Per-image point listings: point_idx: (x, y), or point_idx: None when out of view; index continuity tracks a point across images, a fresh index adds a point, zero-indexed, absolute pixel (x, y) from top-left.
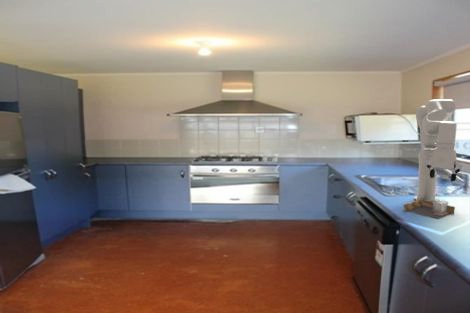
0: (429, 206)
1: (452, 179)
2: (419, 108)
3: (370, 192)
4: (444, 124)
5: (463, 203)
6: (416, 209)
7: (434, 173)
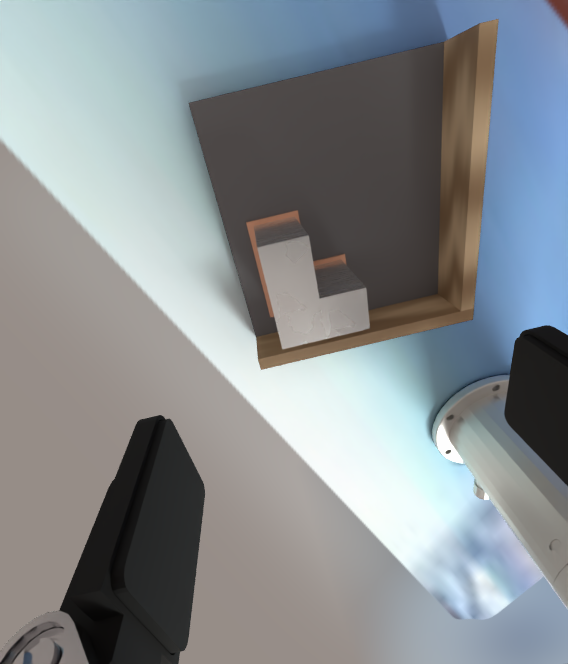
0: (394, 309)
1: (130, 452)
2: None
3: None
4: None
5: (363, 513)
6: (414, 183)
7: (565, 473)
